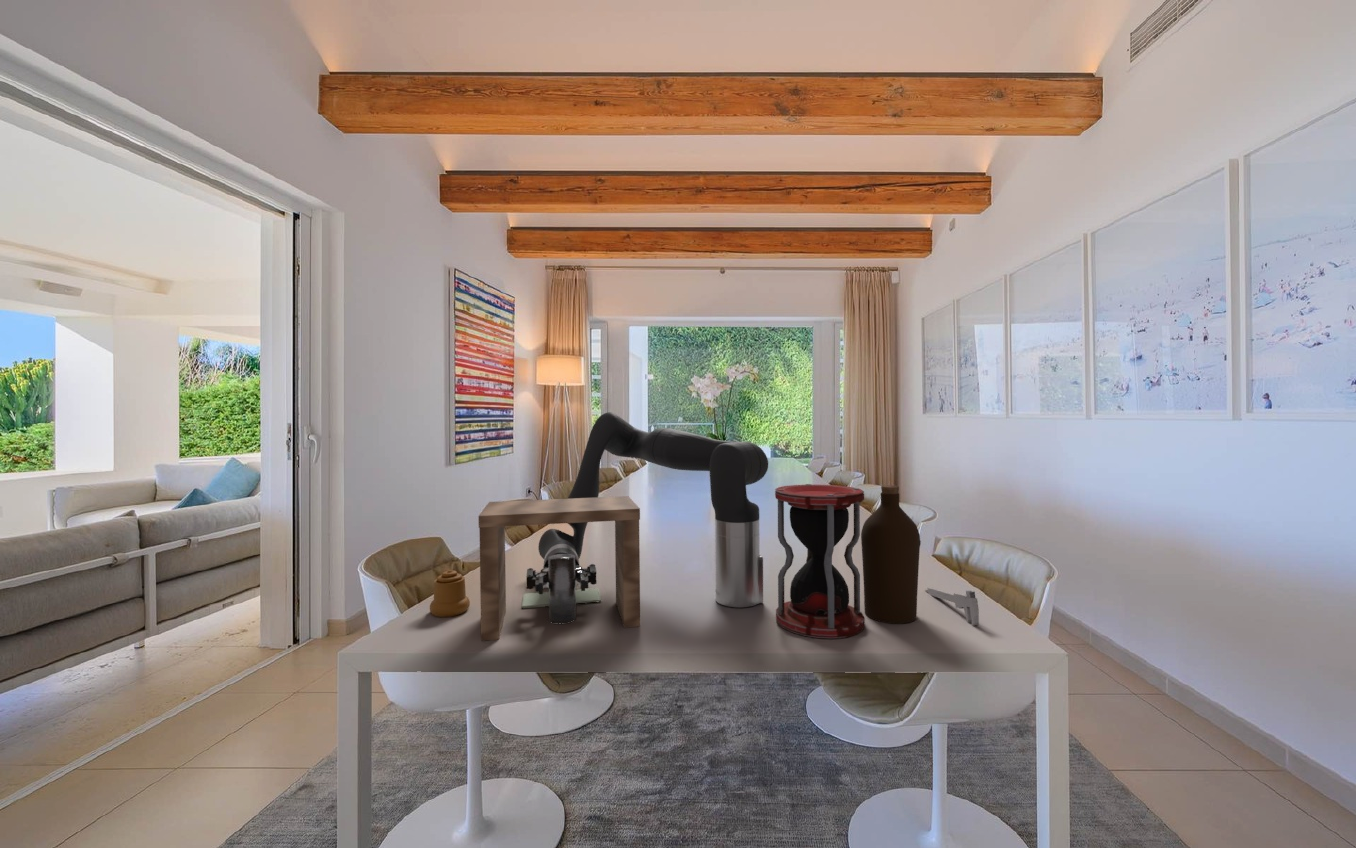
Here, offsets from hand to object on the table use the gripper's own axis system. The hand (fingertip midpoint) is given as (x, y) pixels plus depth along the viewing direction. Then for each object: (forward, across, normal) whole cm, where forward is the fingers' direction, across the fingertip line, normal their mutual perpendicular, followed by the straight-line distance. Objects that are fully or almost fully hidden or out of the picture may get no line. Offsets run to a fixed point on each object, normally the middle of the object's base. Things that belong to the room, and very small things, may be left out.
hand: (562, 587), depth 104 cm
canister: (-2, 0, +7) cm, 7 cm away
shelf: (-2, 0, +7) cm, 7 cm away
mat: (-14, 0, +7) cm, 16 cm away
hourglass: (+11, +47, +7) cm, 49 cm away
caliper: (+10, +76, +7) cm, 77 cm away
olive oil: (+11, +62, +7) cm, 63 cm away
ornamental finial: (-12, -22, +7) cm, 26 cm away
